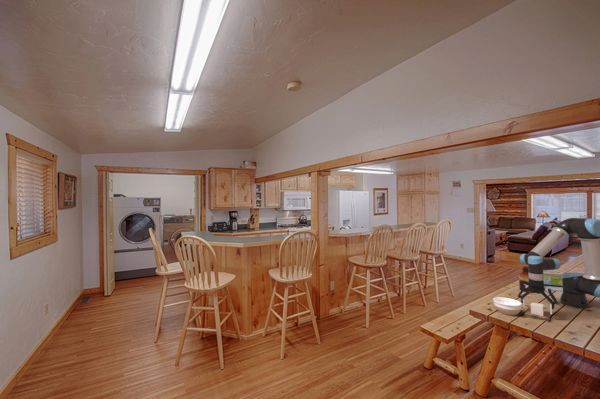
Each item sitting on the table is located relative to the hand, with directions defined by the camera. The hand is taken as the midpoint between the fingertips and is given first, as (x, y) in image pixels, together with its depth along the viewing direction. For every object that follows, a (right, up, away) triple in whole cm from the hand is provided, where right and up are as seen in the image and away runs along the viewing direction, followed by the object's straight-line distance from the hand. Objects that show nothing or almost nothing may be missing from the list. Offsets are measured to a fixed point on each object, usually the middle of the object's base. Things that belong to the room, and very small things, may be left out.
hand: (537, 310), depth 176 cm
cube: (0, -2, 0) cm, 2 cm away
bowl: (-14, -5, +8) cm, 17 cm away
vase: (+35, -3, +48) cm, 59 cm away
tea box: (+57, -3, +50) cm, 76 cm away
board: (+1, -4, +1) cm, 4 cm away
